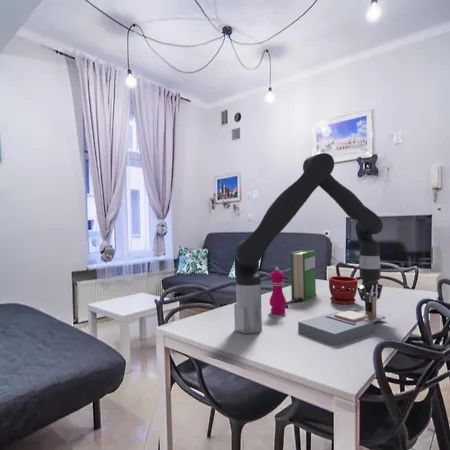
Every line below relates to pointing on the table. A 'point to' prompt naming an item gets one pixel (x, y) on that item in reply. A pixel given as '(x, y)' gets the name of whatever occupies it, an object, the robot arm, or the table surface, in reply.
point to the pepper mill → (277, 293)
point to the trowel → (373, 311)
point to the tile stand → (334, 328)
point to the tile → (351, 316)
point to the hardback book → (303, 274)
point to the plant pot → (342, 289)
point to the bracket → (294, 301)
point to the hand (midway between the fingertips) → (370, 310)
